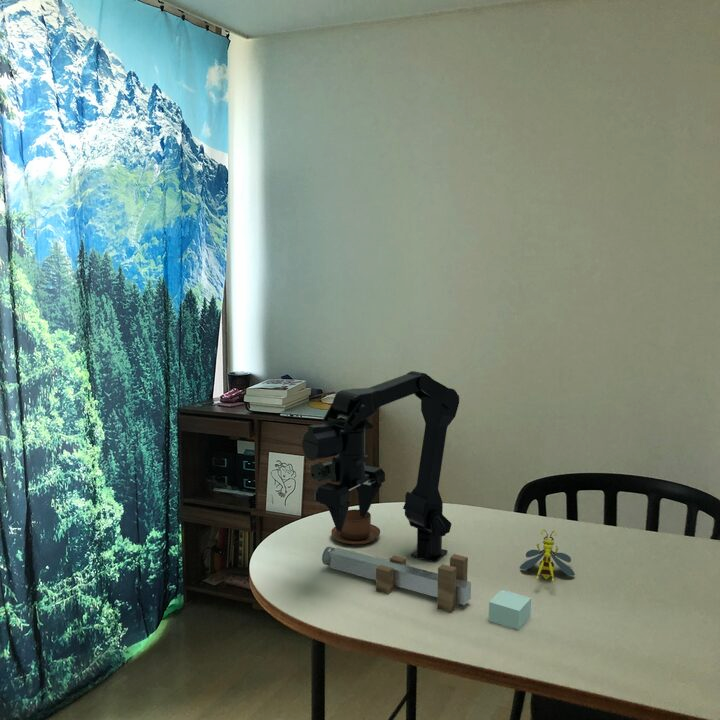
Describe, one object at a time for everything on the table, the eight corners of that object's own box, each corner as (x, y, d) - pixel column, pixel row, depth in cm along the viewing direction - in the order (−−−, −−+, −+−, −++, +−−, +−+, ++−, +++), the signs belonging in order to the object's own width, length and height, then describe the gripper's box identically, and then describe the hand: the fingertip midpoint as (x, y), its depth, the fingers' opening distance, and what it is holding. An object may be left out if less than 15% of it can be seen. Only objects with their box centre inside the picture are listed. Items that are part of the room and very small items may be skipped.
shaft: (332, 560, 159) (332, 544, 158) (471, 598, 141) (472, 580, 141) (322, 567, 156) (321, 550, 155) (463, 607, 138) (464, 588, 137)
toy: (516, 557, 145) (522, 524, 159) (515, 594, 147) (521, 558, 161) (575, 565, 142) (576, 530, 156) (573, 602, 144) (575, 565, 158)
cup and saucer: (323, 544, 171) (323, 519, 170) (343, 526, 182) (343, 503, 181) (369, 552, 166) (369, 527, 165) (387, 533, 177) (387, 509, 176)
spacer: (531, 598, 136) (530, 617, 136) (501, 589, 139) (501, 608, 140) (519, 610, 131) (518, 631, 131) (489, 601, 134) (488, 621, 135)
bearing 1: (393, 576, 153) (394, 554, 152) (406, 580, 151) (406, 558, 151) (376, 591, 146) (376, 568, 146) (388, 594, 145) (388, 571, 144)
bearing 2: (453, 593, 146) (454, 553, 144) (466, 596, 144) (467, 557, 143) (437, 608, 139) (437, 567, 138) (451, 612, 138) (452, 571, 136)
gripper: (343, 436, 158) (343, 503, 161) (292, 456, 143) (293, 530, 145) (386, 443, 152) (386, 512, 155) (338, 465, 137) (339, 542, 139)
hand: (351, 523), depth 149 cm, fingers open, 9 cm apart
